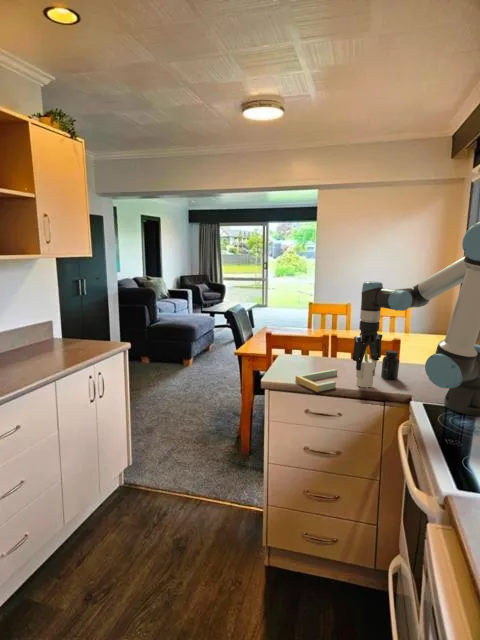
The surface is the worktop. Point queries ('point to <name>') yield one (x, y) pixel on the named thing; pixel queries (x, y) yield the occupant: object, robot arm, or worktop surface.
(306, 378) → the rail
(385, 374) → the supplement bottle
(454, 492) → the worktop surface
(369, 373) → the candle
